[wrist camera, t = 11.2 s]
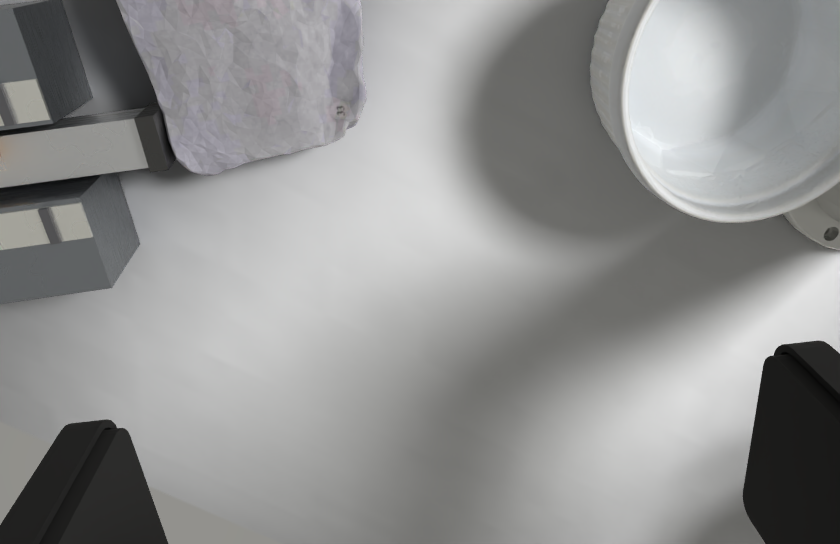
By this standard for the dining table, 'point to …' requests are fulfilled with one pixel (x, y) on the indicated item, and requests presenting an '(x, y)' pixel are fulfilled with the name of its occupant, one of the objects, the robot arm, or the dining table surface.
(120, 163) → the bar with dark endcap
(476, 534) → the dining table surface
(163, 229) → the dining table surface
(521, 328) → the dining table surface
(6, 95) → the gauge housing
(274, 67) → the stone block
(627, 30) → the ramekin
